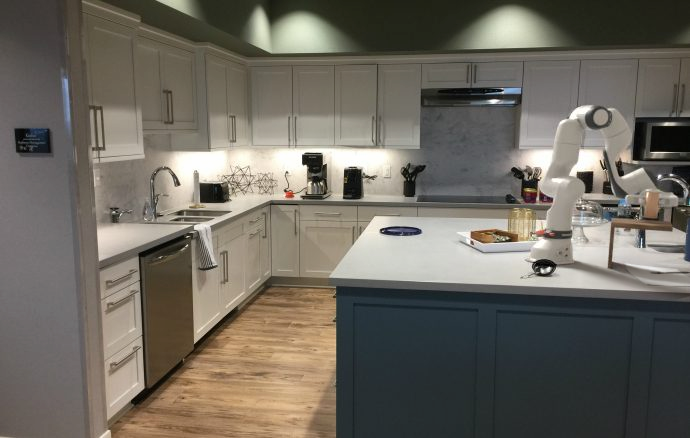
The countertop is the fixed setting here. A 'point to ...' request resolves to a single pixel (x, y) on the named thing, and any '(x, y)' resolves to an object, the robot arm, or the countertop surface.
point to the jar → (651, 203)
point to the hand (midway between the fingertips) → (652, 202)
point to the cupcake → (538, 231)
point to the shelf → (635, 225)
